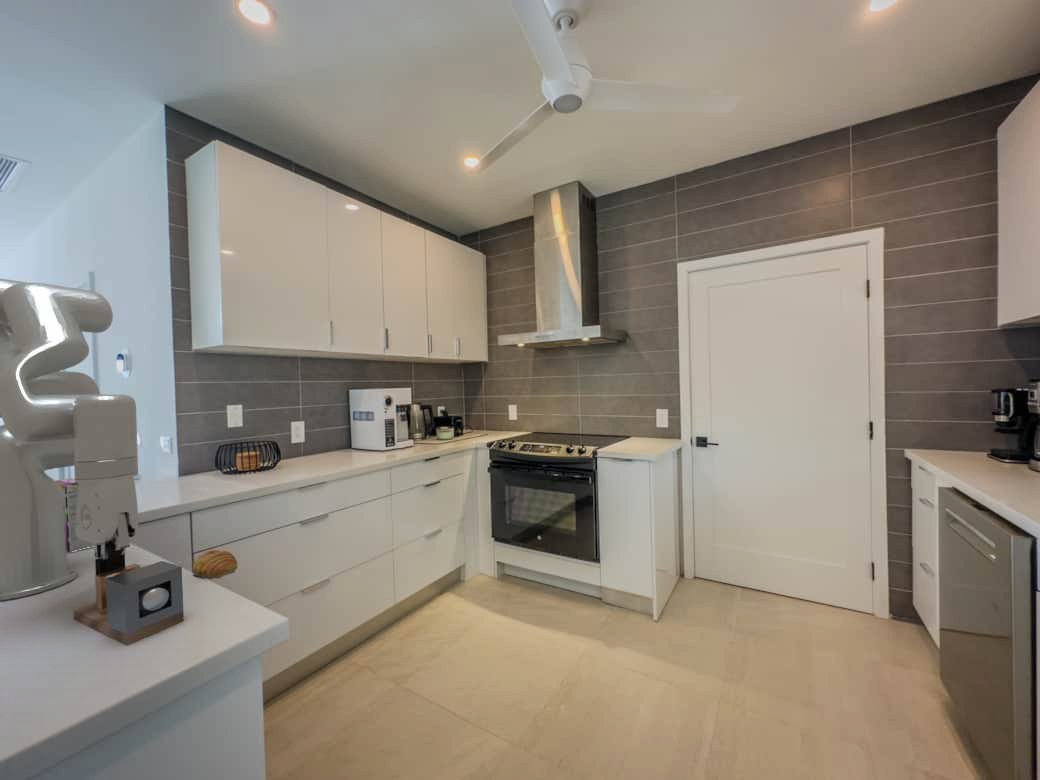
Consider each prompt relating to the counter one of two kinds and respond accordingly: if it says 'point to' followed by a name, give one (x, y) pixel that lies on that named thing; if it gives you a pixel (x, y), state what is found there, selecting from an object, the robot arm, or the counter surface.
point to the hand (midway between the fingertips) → (111, 580)
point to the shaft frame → (136, 604)
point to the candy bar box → (71, 515)
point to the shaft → (147, 597)
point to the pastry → (215, 564)
